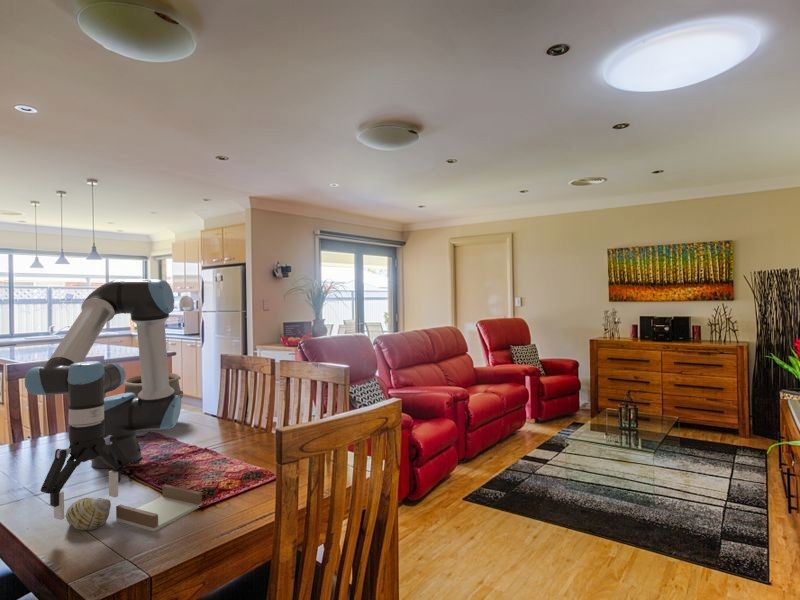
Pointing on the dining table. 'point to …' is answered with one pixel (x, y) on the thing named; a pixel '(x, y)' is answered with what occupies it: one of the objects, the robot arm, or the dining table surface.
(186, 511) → the cradle
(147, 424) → the robot arm
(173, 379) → the planter
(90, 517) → the seashell
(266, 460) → the dining table surface
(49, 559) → the dining table surface
